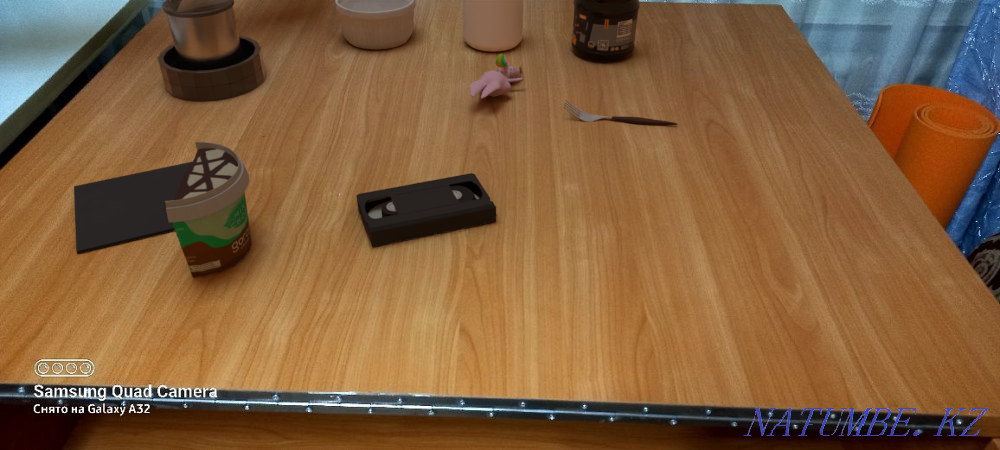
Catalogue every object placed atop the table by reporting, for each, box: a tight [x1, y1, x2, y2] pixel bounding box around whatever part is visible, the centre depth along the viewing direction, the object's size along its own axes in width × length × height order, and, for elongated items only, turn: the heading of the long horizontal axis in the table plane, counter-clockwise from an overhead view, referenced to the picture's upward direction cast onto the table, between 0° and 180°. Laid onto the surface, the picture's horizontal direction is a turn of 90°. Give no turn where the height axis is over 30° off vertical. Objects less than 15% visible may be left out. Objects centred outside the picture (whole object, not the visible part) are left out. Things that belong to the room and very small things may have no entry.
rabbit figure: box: [469, 53, 524, 99], centre depth 109 cm, size 6×6×15 cm
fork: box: [563, 99, 679, 126], centre depth 104 cm, size 3×16×2 cm, turn 78°
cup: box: [462, 0, 524, 53], centre depth 124 cm, size 10×10×10 cm
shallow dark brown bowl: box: [157, 34, 267, 103], centre depth 111 cm, size 14×14×5 cm
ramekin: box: [334, 0, 417, 51], centre depth 126 cm, size 13×13×7 cm
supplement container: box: [570, 0, 641, 63], centre depth 120 cm, size 10×10×12 cm
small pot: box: [161, 0, 244, 71], centre depth 109 cm, size 10×10×12 cm
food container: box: [165, 141, 253, 278], centre depth 77 cm, size 12×6×10 cm, turn 5°
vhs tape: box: [356, 172, 497, 248], centre depth 84 cm, size 14×8×2 cm, turn 110°
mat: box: [73, 161, 193, 255], centre depth 86 cm, size 14×14×1 cm
